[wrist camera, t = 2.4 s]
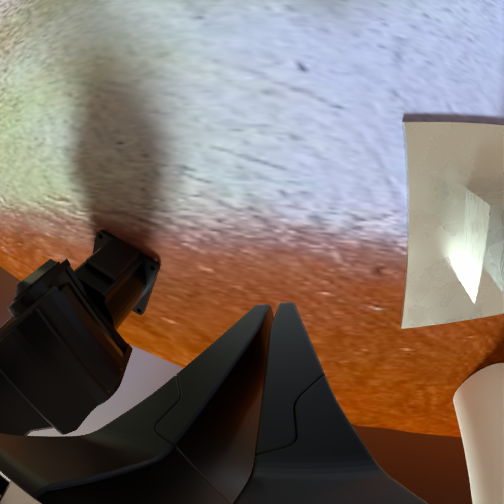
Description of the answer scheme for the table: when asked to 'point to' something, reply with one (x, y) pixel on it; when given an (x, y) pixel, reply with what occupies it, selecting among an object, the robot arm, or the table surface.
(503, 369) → the cup
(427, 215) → the stacked slab tower
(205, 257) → the table surface
